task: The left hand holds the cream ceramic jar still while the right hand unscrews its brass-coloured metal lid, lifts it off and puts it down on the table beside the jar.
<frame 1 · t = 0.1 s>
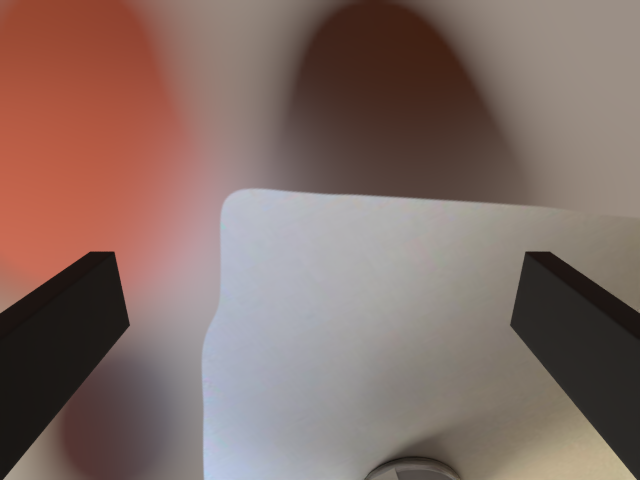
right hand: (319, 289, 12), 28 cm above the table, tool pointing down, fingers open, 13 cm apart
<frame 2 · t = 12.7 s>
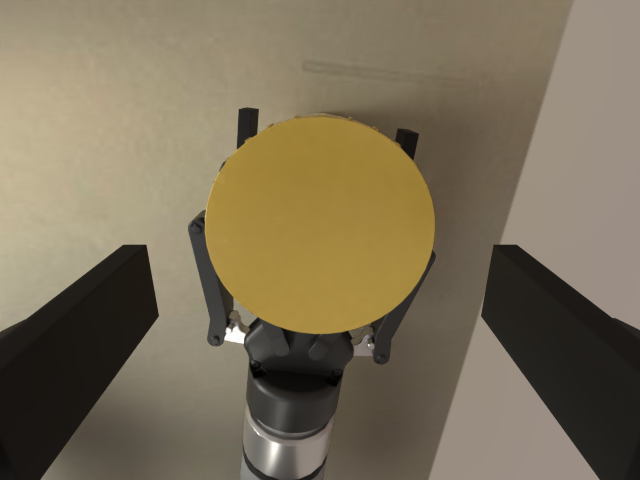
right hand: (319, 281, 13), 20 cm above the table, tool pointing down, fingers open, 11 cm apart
left hand: (329, 120, 24), fingers closed on jar, 9 cm apart
lid: (320, 234, 17), point 15 cm above the table, screwed on, not yet turned
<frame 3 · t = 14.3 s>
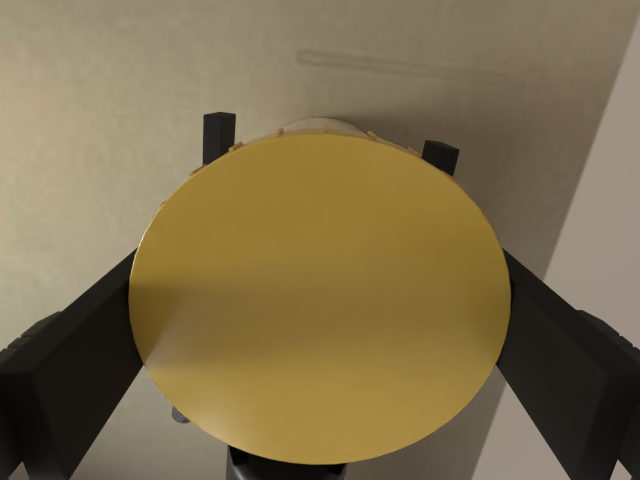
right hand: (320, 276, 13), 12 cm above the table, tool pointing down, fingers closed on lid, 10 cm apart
lid: (319, 321, 11), point 15 cm above the table, screwed on, not yet turned, touching right hand
jar: (319, 191, 25), on the table, touching left hand
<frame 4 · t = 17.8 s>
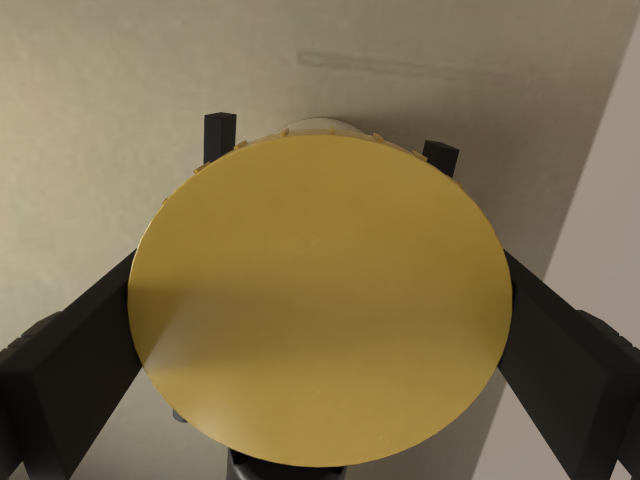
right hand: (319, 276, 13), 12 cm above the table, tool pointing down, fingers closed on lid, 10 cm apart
lid: (319, 323, 11), point 15 cm above the table, turned 114° so far, risen 0.1 cm, still on its thread, touching right hand
jar: (320, 191, 25), on the table, touching left hand
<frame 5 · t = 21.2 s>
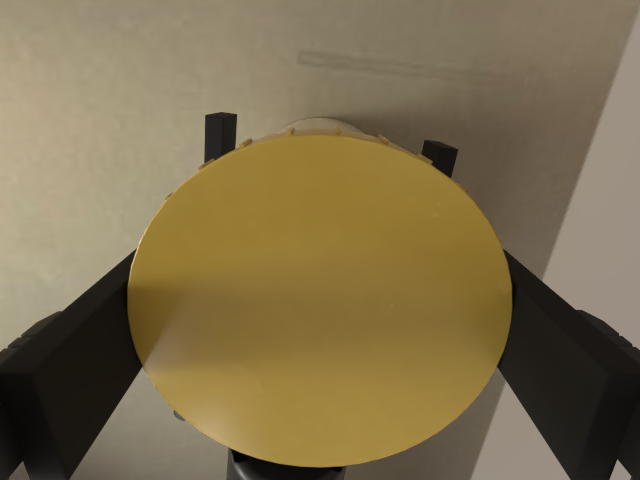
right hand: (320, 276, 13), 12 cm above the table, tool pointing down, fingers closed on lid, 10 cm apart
lid: (319, 323, 11), point 15 cm above the table, turned 228° so far, risen 0.3 cm, still on its thread, touching right hand
jar: (319, 191, 25), on the table, touching left hand
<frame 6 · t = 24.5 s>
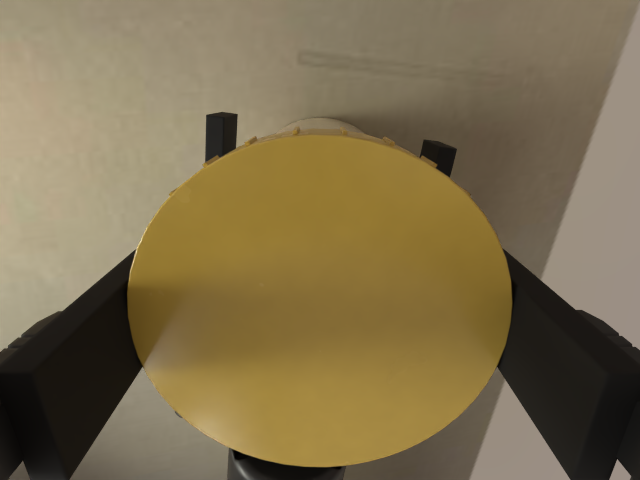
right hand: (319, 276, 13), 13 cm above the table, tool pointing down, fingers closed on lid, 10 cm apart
lid: (319, 323, 11), point 16 cm above the table, turned 342° so far, risen 0.4 cm, still on its thread, touching right hand
jar: (319, 190, 25), on the table, touching left hand
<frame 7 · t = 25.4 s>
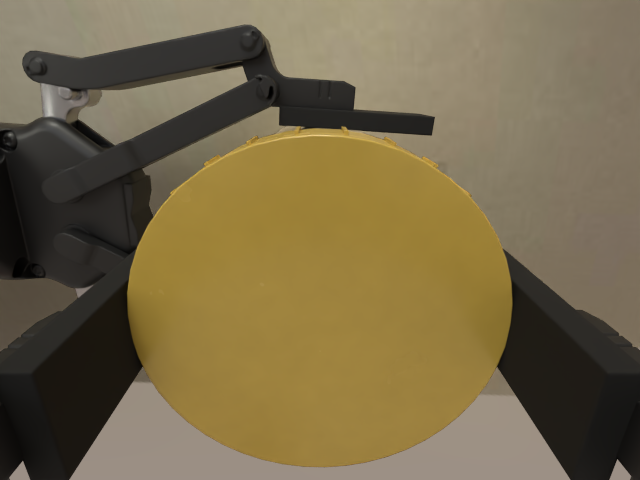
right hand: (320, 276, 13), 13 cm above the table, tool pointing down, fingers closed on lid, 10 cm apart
left hand: (408, 226, 19), fingers closed on jar, 9 cm apart
lid: (319, 323, 11), point 16 cm above the table, turned 429° so far, risen 0.5 cm, still on its thread, touching right hand
when the right hand's fingers open (0 cm above the table, at t = 32.4 s): lid drops 2 cm, point 1 cm above the table.
when the left hand's fingers open (7 cm above the table, at t = 33.4 s): jar stays where it is, on the table.
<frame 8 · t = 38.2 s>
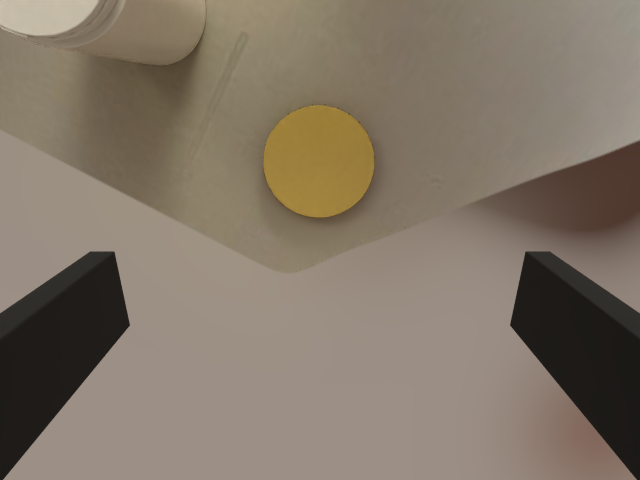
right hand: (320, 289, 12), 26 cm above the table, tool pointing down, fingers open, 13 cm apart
lid: (318, 164, 35), point 1 cm above the table, off its thread
jar: (151, 5, 32), on the table
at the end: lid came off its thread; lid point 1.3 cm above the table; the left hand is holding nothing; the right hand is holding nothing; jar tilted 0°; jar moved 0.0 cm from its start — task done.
